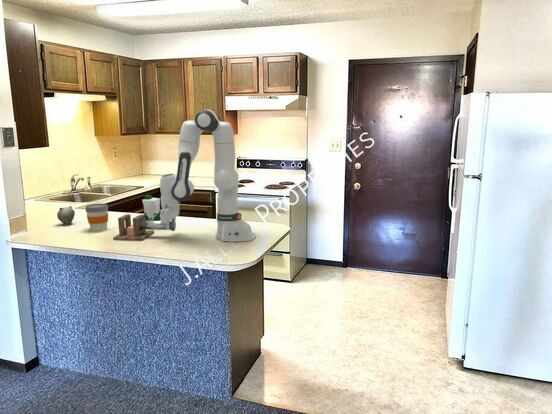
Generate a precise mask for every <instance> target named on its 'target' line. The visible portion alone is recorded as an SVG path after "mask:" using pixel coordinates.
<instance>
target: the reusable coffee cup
mask: <svg viewBox="0 0 552 414" xmlns="http://www.w3.org/2000/svg"><path fill="white" fill-rule="evenodd" d="M108 206H109V205H108V204H107V203H93V204H88V205H85V212H86V218H87V222H88V224H89V228H90V231H91V232H92V231H93V233H95V232H96V233H97V232H98V233H101V232H105V231H107V230H108V222H109V213H108V212H109V211H108V210H109V207H108Z"/></svg>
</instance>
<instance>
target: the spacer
mask: <svg viewBox="0 0 552 414" xmlns="http://www.w3.org/2000/svg"><path fill="white" fill-rule="evenodd" d="M127 235H128V236H134V230H133V224H131V226H130V227H128V228H127Z"/></svg>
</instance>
